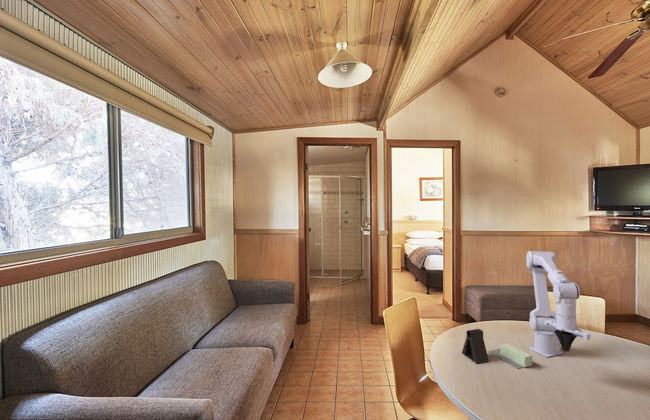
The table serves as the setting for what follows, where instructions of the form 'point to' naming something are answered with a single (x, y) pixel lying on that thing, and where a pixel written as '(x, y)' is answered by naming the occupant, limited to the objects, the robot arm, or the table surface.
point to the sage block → (516, 355)
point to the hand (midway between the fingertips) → (565, 350)
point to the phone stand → (475, 346)
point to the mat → (497, 354)
